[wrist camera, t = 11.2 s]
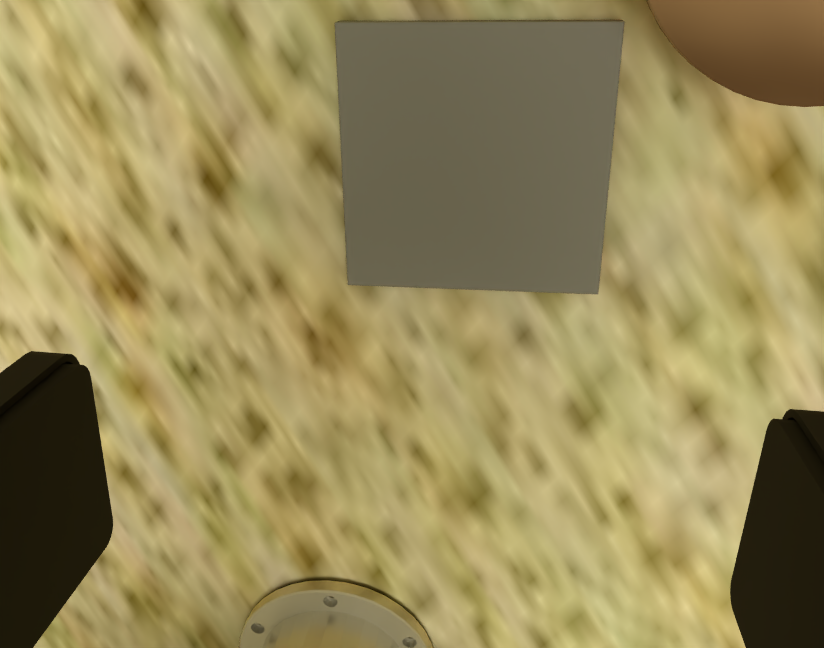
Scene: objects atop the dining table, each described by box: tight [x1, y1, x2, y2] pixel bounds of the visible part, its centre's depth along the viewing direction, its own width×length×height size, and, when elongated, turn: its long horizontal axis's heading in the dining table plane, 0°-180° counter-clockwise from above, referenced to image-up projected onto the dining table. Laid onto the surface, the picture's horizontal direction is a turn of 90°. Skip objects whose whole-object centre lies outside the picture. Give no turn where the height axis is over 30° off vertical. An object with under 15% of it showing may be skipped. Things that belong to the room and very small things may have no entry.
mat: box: [335, 20, 624, 294], centre depth 35 cm, size 12×12×1 cm
